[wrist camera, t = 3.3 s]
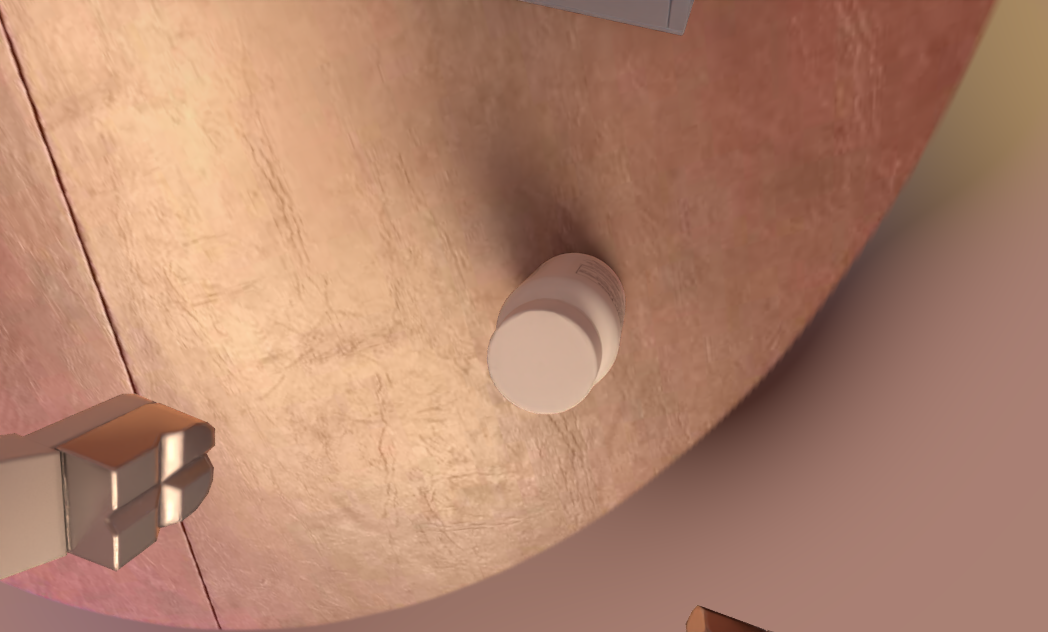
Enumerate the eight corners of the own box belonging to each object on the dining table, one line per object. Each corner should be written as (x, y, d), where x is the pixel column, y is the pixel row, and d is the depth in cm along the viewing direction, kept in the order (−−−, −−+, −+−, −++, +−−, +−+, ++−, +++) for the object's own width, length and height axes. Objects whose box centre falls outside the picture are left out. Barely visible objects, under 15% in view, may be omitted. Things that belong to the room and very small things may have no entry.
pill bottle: (533, 350, 24) (482, 430, 17) (521, 256, 23) (461, 298, 16) (630, 346, 23) (620, 430, 16) (622, 246, 22) (608, 288, 15)
